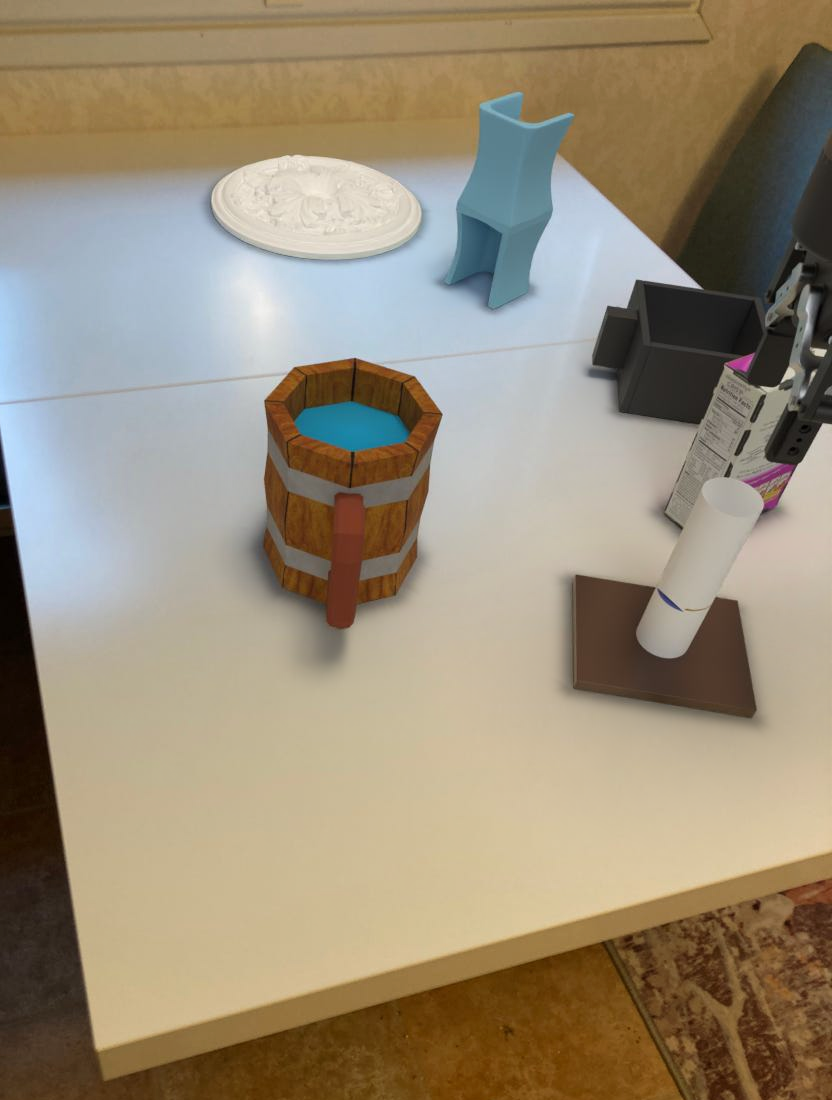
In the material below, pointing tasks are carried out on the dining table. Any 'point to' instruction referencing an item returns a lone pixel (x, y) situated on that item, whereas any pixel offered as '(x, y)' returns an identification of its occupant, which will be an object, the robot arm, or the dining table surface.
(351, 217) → the ceiling medallion
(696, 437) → the candy bar box
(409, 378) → the mug
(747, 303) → the dark gray open box
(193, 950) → the dining table surface
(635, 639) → the cutting board
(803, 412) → the robot arm
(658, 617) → the tube
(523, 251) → the blue flared stand
